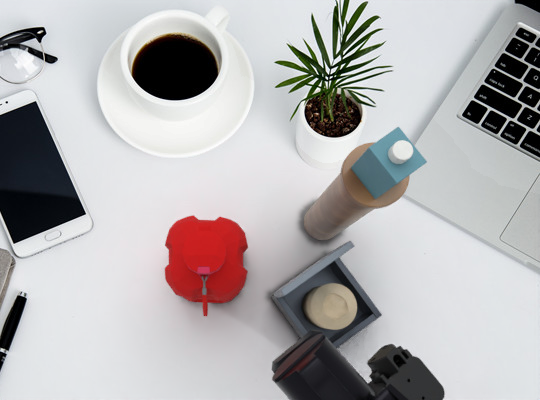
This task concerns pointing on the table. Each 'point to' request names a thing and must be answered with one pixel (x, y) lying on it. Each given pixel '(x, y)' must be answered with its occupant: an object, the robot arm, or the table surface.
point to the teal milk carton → (387, 162)
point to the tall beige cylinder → (347, 200)
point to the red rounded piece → (206, 260)
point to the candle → (329, 306)
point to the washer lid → (313, 269)
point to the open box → (329, 274)
